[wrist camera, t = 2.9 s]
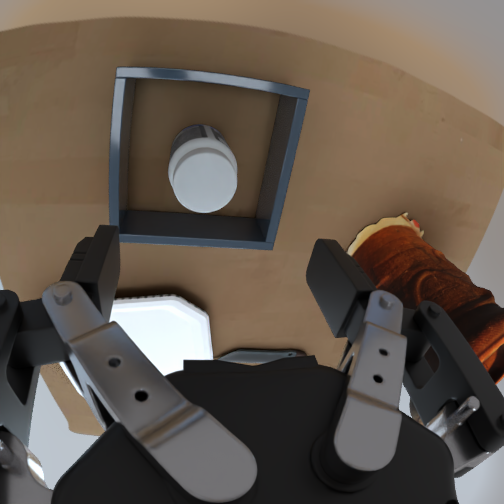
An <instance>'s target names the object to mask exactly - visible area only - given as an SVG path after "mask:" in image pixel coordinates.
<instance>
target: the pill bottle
mask: <svg viewBox="0 0 504 504" xmlns="http://www.w3.org/2000/svg"><path fill="white" fill-rule="evenodd" d="M168 176H169V180H170V183H171V185H172V187H173V189H174V193H175V195H176V197H177V199H178V200H179V202H180V203H181V204H182V205H183V206H185V207H186V208H188V209H190V210H192V211H195V212H200V213H208V212H213V211H216V210H218V209H220V208H222V207H224V206H225V205H226V204H227V203H228V202H229V201H230V200H231V199H232V197H233V195H234V194H235V191H236V188H237V162H236V159H235V156H234V155H233V153H232V151H231V150H230V148H229V146H228V144H227V143H226V141H225V139H224V137H223V136H222V134H221V133H220V132H219V131H218V130H216V129H215V128H213V127H211V126H208V125H203V124H197V125H192V126H189V127H187V128H185V129H183V130H182V131H181V132H180V133H179V134H178V135H177V136H176V138H175V139H174V141H173V144H172V148H171V154H170V161H169V167H168Z"/></svg>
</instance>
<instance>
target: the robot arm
mask: <svg viewBox="0 0 504 504" xmlns="http://www.w3.org/2000/svg"><path fill="white" fill-rule="evenodd" d="M119 275H120V244H119V227H118V226H116V225H99V227H98V229H97V231H96V233H95V235H94V237H85V238H84V239H83V240H81V241H80V242H79V243H78V244H77V246H76V248H75V250H74V252H73V254H72V256H71V258H70V260H69V262H68V264H67V266H66V268H65V271H64V273H63V275H62V277H61V279H60V282H56V283H54V284H52V285H50V286H49V287H48V288H46V290H45V291H44V292H43V295H42V298H40V299H36V300H30V301H24V302H20V301H19V298H18V296H17V294H16V293H15V292H13V291H10V290H0V504H459V503H458V500H457V496H456V490H455V482H454V478H458V477H461V476H462V475H464V474H465V473H467V472H468V471H470V470H471V469H473V468H474V467H476V466H477V465H479V464H480V463H481V462H483V461H484V460H485V459H487V458H488V457H489V456H491V455H492V454H493V453H495V452H496V451H497V450H499V448H501V447H502V446H504V397H503V395H502V394H501V392H500V391H499V389H498V387H497V386H496V384H495V383H494V381H493V379H492V378H491V376H490V375H489V373H488V372H487V370H486V369H485V367H484V365H483V364H482V362H481V361H480V359H479V358H478V357H477V355H476V354H475V352H474V351H473V349H472V348H471V346H470V345H469V343H468V342H467V341H466V339H465V338H464V336H463V335H462V334H461V332H460V331H459V329H458V328H457V327H456V325H455V324H454V323H453V321H452V320H451V319H450V317H449V316H448V315H447V313H446V312H445V311H444V309H443V308H441V307H440V306H439V305H437V304H436V303H434V302H431V301H422V302H420V304H419V306H418V307H417V309H416V310H413V309H408V308H403V304H402V302H401V301H400V300H399V299H398V298H397V297H396V296H395V295H393V294H391V293H389V292H387V291H383V290H378V289H377V288H376V286H375V285H374V284H373V282H372V281H371V280H370V278H369V277H368V276H367V274H366V273H364V270H363V269H362V268H361V267H360V265H359V264H358V263H357V261H356V260H355V259H354V258H353V257H352V256H350V255H349V254H348V253H346V252H345V251H344V250H343V249H342V247H341V246H340V245H339V243H338V242H337V241H336V240H331V239H318V240H317V241H316V243H315V245H314V249H313V252H312V255H311V258H310V261H309V264H308V267H307V271H306V280H307V284H308V286H309V288H310V289H311V291H312V293H313V295H314V297H315V299H316V301H317V303H318V305H319V307H320V309H321V311H322V313H323V315H324V317H325V319H326V321H327V323H328V325H329V327H330V329H331V331H332V333H333V335H334V336H335V338H341V337H347V338H348V340H347V342H346V344H345V346H344V349H343V352H342V355H341V358H340V361H339V363H338V366H337V369H334V368H331V367H328V366H323V365H318V362H317V360H316V358H315V355H311V356H298V357H285V358H281V359H278V360H274V361H271V362H267V363H264V364H260V365H256V366H250V365H244V364H238V363H233V362H227V361H222V360H183V370H179V371H175V372H172V373H169V374H167V375H165V376H164V375H163V374H162V373H161V372H160V371H159V370H158V369H157V368H156V367H155V366H154V364H153V363H152V362H151V361H150V360H149V359H148V358H147V357H146V356H145V354H144V353H143V352H142V351H141V350H140V349H139V348H138V346H137V345H136V344H135V343H134V342H133V341H132V339H131V338H130V337H129V336H128V335H127V333H126V332H125V331H124V330H123V329H122V327H121V326H120V325H119V324H118V323H117V322H116V321H112V322H109V321H110V316H111V311H112V306H113V301H114V297H115V292H116V288H117V284H118V279H119ZM430 346H432V348H433V349H434V351H435V352H436V354H437V356H438V358H439V367H438V369H437V371H436V372H435V373H434V372H433V371H432V369H431V367H430V366H429V364H428V362H427V360H426V359H425V357H424V354H425V353H426V352H427V350H428V349H429V347H430ZM58 362H63V363H64V365H65V367H66V369H67V370H68V372H69V374H70V375H71V377H72V379H73V380H74V382H75V384H76V385H77V387H78V389H79V390H80V392H81V393H82V395H83V396H84V398H85V400H86V401H87V403H88V405H89V406H90V408H91V410H92V412H93V414H94V415H95V417H96V419H97V420H98V422H99V423H100V425H101V426H102V427H103V429H104V430H105V432H104V433H103V434H102V435H101V436H100V437H99V438H98V439H97V440H96V441H95V442H94V443H93V444H92V445H91V447H90V448H89V449H88V450H87V451H86V452H85V453H84V454H83V455H82V456H81V457H80V458H79V459H78V460H77V461H76V462H75V463H74V464H73V465H72V466H71V467H70V468H69V469H68V470H67V471H66V472H65V473H64V474H63V475H62V476H61V478H60V479H59V480H58V482H57V484H56V485H55V488H54V490H51V489H49V488H48V487H47V485H46V484H45V481H44V477H43V470H42V466H41V464H40V462H39V460H38V459H37V457H36V456H35V455H34V454H33V453H32V452H31V451H30V450H29V449H28V443H29V434H30V426H31V419H32V412H33V405H34V399H35V393H36V388H37V383H38V378H39V373H40V368H41V365H46V364H52V363H58ZM402 382H403V384H404V386H405V388H406V390H407V392H408V394H409V396H410V398H411V400H412V402H413V404H414V406H415V408H416V410H417V412H418V414H419V416H420V419H421V421H422V423H423V425H424V426H423V425H422V424H420V423H419V422H417V421H415V420H414V419H412V418H411V417H409V416H407V415H406V414H405V413H403V412H402V411H400V410H399V400H400V395H401V388H402Z"/></svg>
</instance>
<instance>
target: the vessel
mask: <svg viewBox="0 0 504 504" xmlns="http://www.w3.org/2000/svg"><path fill="white" fill-rule="evenodd" d="M407 214H408V213H404V214H402V215H400V216H399V217H397V218H382V219H381V220H380V221H379V222H378V223H377V224H372V225H370V226H367V227H366V228H364V229H363V231H361V232H360V233H359V234H358V235H357V238H356V240H355V241H354V242H353V243H352V244H351V246H350V247H349V250H348V252H347V253H348V254H349V255H350V256H352V257H353V258H354V259H355V260H356V261H357V263H358V264H359V265H360V267H361V268H362V269H363V270H364V273H366V274H367V276H368V277H369V278H370V280H371V281H372V282H373V284H374V285H375V286H376V288H377V289H378V290H383V291H387V292H389V293H391V294H393V295H395V296H396V297H397V298H398V299H399V300H400V301H401V302H402V304H403V308H408V309H413V310H416V309H417V307H418V306H419V304H420V302H422V301H431V302H434V303H436V304H437V305H439V306H440V307H441V308H443V309H444V311H445V312H446V313H447V315H448V316H449V317H450V319H451V320H452V321H453V323H454V324H455V325H456V327H457V328H458V329H459V331H460V332H461V334H462V335H463V336H464V338H465V339H466V341H467V342H468V343H469V345H470V346H471V348H472V349H473V351H474V352H475V354H476V355H477V357H478V358H479V359H480V361H481V362H482V364H483V365H484V367H485V369H486V370H487V372H488V373H489V375H490V376H491V378H492V379H493V381H494V383H495V384H497V383H498V382H499V381H500V380H501V379H503V377H504V308H501V307H500V306H499V305H497V304H496V303H495V299H494V296H493V294H492V292H491V291H490V290H487V289H485V288H480V287H477V286H476V285H474V284H473V283H472V281H471V279H470V277H469V276H468V275H467V274H465V273H464V272H462V271H461V270H460V269H458V268H457V267H456V266H455V265H454V264H453V263H451V262H450V261H448V260H447V259H446V258H445V256H444V254H443V253H442V252H440V251H438V250H435V249H434V248H433V247H431V246H430V245H429V244H427V243H426V242H425V241H424V240H423V239H422V238H421V237H422V236H423V234H424V230H423V231H421V232H420V228H419V224H418V223H417V222H416V221H415V220H412V221H409V220H408V219H407V217H406V215H407ZM424 357H425V359H426V360H427V362H428V364H429V366H430V367H431V369H432V371H433V372H434V373H435V372H436V371H437V369H438V367H439V358H438V356H437V354H436V352H435V351H434V349H433V348H432V346H430V347H429V349H428V350H427V352H426V353H425V354H424ZM403 385H404V384H403ZM404 387H405V386H404ZM410 413H411V416H412V418H413V419H414V420H415V421H417V422H419V423H420V424H422V425H423V423H422V421H421V419H420V416H419V414H418V412H417V410H416V408H415V406H414V404H413V402H412V400H411V398H410ZM423 426H424V425H423Z"/></svg>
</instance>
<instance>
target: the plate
mask: <svg viewBox="0 0 504 504" xmlns="http://www.w3.org/2000/svg"><path fill="white" fill-rule="evenodd" d="M112 321H116V322H117V323H118V324H119V325H120V326H121V327H122V329H123V330H124V331H125V332H126V333H127V335H128V336H129V337H130V338H131V339H132V341H133V342H134V343H135V344H136V345H137V346H138V348H139V349H140V350H141V351H142V352H143V353H144V354H145V356H146V357H147V358H148V359H149V360H150V361H151V362H152V363H153V364H154V366H155V367H156V368H157V369H158V370H159V371H160V372H161V373H162V374H163V375H164V376H165V375H167V374H169V373H172V372H175V371H179V370H183V360H213V352H212V343H211V333H210V324H209V316H208V314H207V313H206V311H204V310H202V309H201V308H199V307H197V306H196V305H194V304H192V303H190V302H189V301H187V300H186V299H184V298H182V297H181V296H179V295H175V294H165V295H153V296H141V297H128V298H114V301H113V306H112V311H111V316H110V321H109V322H112ZM59 363H60V365H61V367H62V368H63V370H64V371H65V373H66V375H67V376H68V378H69V379H70V381H71V382H72V384H73V385H74V387H75V388H76V390H77V391H78V393H79V394H81V395H82V393H81V392H80V390H79V389H78V387H77V385H76V384H75V382H74V380H73V379H72V377H71V375H70V374H69V372H68V370H67V369H66V367H65V365H64V363H63V362H59ZM82 396H83V395H82Z"/></svg>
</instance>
